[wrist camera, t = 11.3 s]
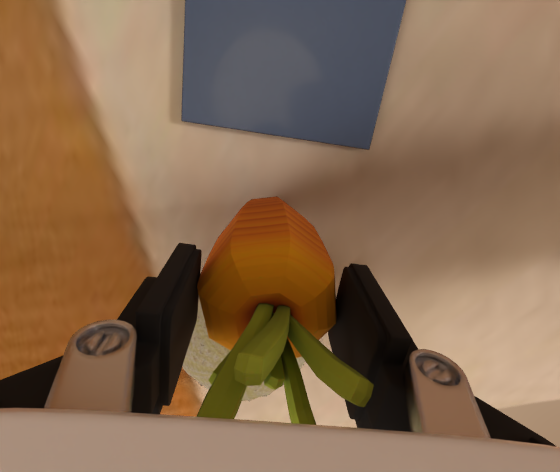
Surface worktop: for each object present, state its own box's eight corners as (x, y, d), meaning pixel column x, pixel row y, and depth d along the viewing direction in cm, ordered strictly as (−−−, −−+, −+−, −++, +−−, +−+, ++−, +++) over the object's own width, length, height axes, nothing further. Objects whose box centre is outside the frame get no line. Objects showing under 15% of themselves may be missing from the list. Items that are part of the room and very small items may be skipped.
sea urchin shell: (310, 261, 20) (323, 406, 17) (301, 290, 27) (309, 394, 24) (162, 268, 20) (148, 415, 17) (193, 295, 27) (187, 401, 24)
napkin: (425, -86, 15) (428, -90, 15) (367, 148, 19) (369, 149, 19) (191, -138, 14) (189, -145, 14) (182, 120, 18) (181, 121, 18)
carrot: (317, 182, 20) (435, 367, 6) (293, 252, 22) (341, 520, 8) (239, 159, 19) (165, 309, 5) (220, 234, 21) (130, 492, 7)
